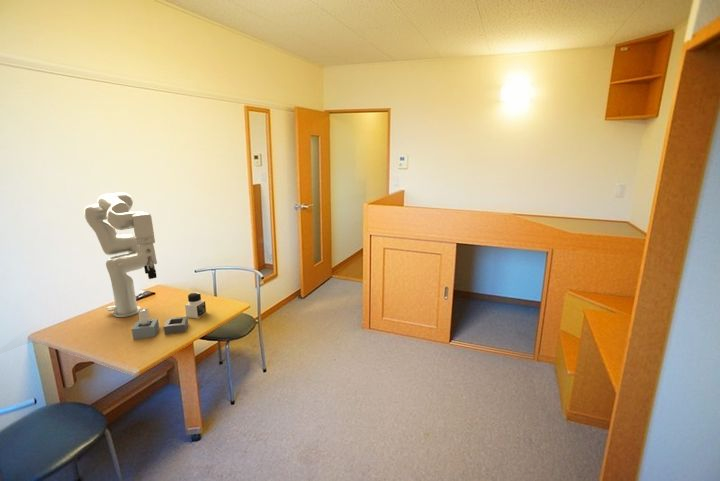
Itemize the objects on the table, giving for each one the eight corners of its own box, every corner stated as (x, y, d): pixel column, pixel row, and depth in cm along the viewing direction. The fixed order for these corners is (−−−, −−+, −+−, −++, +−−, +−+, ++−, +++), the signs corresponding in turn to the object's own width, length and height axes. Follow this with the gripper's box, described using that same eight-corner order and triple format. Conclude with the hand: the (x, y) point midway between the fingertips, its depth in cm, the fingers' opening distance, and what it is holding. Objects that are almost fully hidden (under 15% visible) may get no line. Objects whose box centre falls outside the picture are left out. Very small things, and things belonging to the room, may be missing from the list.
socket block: (133, 339, 168) (131, 329, 167) (138, 330, 176) (137, 320, 175) (154, 336, 170) (153, 326, 169) (159, 327, 179) (158, 318, 177)
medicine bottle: (198, 318, 189) (195, 297, 186) (186, 317, 190) (183, 295, 187) (206, 312, 195) (204, 291, 192) (194, 311, 197) (192, 290, 194)
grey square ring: (164, 334, 172) (163, 326, 171) (168, 325, 181) (167, 318, 180) (185, 331, 175) (184, 324, 174) (188, 323, 183) (187, 316, 182)
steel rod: (140, 335, 171) (137, 312, 168) (143, 331, 175) (139, 308, 172) (150, 334, 172) (146, 311, 169) (152, 330, 176) (149, 307, 173)
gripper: (158, 242, 162) (163, 278, 166) (151, 235, 175) (156, 269, 179) (138, 245, 158) (144, 282, 162) (133, 238, 171) (139, 272, 175)
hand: (150, 275), depth 170 cm, fingers open, 9 cm apart
